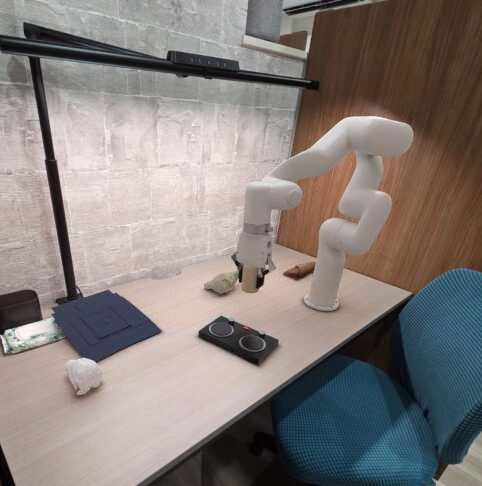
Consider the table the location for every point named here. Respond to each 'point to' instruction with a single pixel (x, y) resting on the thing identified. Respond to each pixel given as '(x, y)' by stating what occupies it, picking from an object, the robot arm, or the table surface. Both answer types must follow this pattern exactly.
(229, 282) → the cream lumpy piece
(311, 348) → the table surface
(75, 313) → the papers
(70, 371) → the crumpled paper
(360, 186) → the robot arm
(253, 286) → the candle
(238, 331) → the hot plate
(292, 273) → the sunglasses case
